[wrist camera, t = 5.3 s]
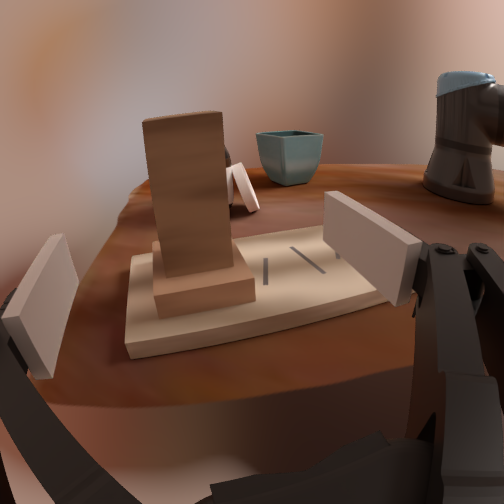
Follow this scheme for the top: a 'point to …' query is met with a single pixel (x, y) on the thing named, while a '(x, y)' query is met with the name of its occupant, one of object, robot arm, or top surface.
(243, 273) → the block
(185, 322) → the plywood board
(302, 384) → the top surface
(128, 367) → the top surface
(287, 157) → the flower pot
